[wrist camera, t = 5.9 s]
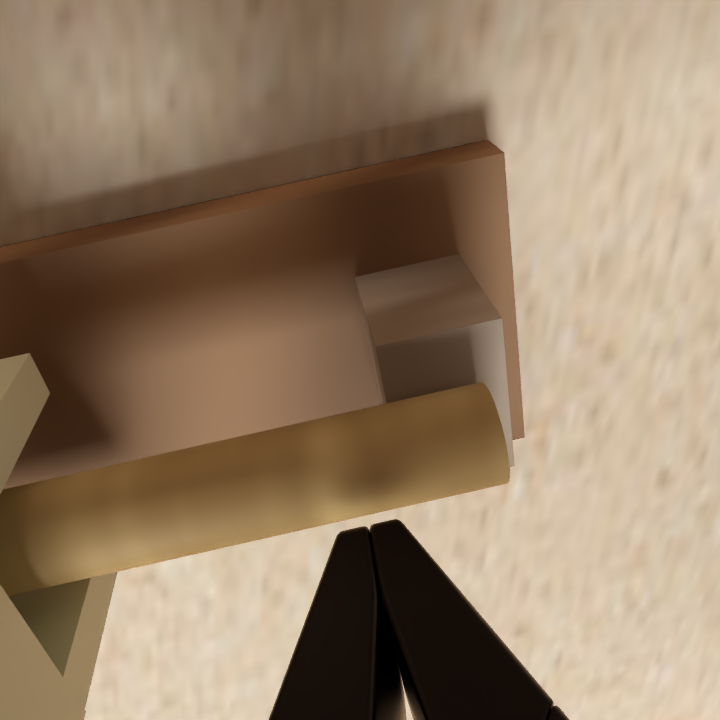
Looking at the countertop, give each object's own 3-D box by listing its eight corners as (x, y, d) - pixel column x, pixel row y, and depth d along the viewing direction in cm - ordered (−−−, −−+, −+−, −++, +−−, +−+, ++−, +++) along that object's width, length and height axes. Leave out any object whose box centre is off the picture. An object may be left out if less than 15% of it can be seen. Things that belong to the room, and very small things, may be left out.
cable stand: (488, 140, 13) (648, 265, 8) (510, 412, 16) (632, 633, 11) (-409, 336, 13) (-898, 610, 7) (-200, 571, 16) (-432, 878, 11)
